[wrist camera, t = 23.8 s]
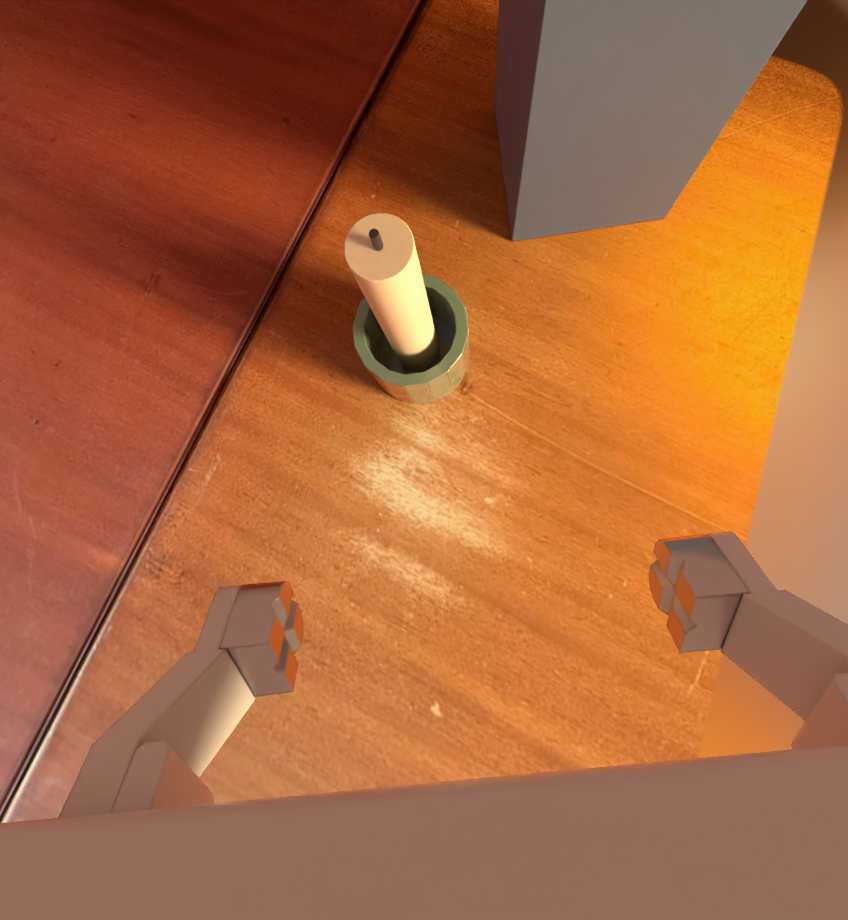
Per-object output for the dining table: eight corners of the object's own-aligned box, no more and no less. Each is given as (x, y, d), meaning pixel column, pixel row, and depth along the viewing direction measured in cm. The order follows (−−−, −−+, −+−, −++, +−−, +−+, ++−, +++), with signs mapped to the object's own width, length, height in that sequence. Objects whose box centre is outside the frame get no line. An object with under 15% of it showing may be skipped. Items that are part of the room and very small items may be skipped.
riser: (642, 79, 35) (796, -317, 18) (664, 219, 34) (849, -64, 17) (494, 105, 36) (510, -250, 19) (511, 242, 35) (545, -5, 18)
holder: (463, 302, 35) (461, 264, 29) (474, 397, 34) (474, 377, 29) (367, 315, 35) (347, 281, 30) (376, 410, 35) (358, 392, 29)
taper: (430, 325, 34) (395, 185, 19) (445, 363, 34) (422, 251, 19) (391, 341, 34) (326, 215, 19) (406, 379, 34) (351, 281, 19)
